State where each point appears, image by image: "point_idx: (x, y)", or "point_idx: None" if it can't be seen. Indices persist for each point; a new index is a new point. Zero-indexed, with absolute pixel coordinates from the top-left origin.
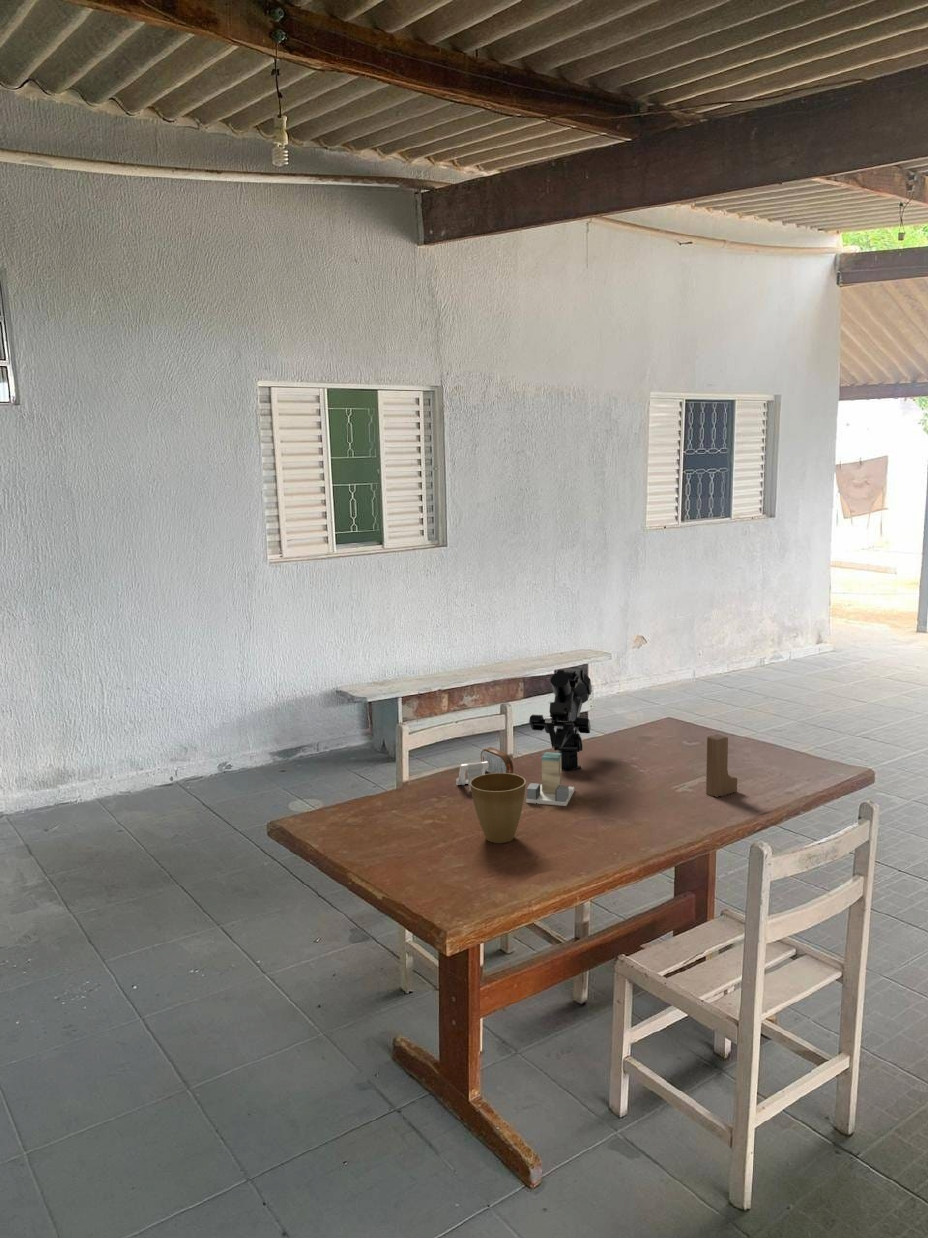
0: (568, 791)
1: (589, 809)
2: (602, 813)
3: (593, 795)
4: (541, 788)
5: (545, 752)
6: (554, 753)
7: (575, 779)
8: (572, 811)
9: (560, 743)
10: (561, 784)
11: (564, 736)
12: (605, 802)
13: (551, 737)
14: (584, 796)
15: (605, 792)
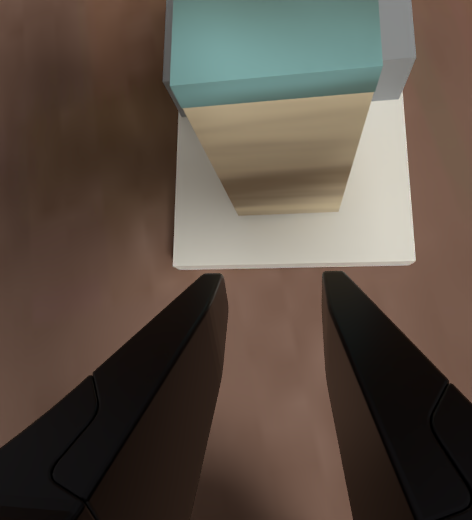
0: (173, 98)
1: (82, 49)
2: (28, 25)
3: (77, 227)
4: (358, 191)
5: (373, 55)
6: (247, 48)
7: (202, 482)
8: (150, 5)
9: (201, 297)
10: (235, 209)
11: (88, 379)
12: (20, 150)
13: (397, 362)
14: (119, 201)
15: (23, 286)
